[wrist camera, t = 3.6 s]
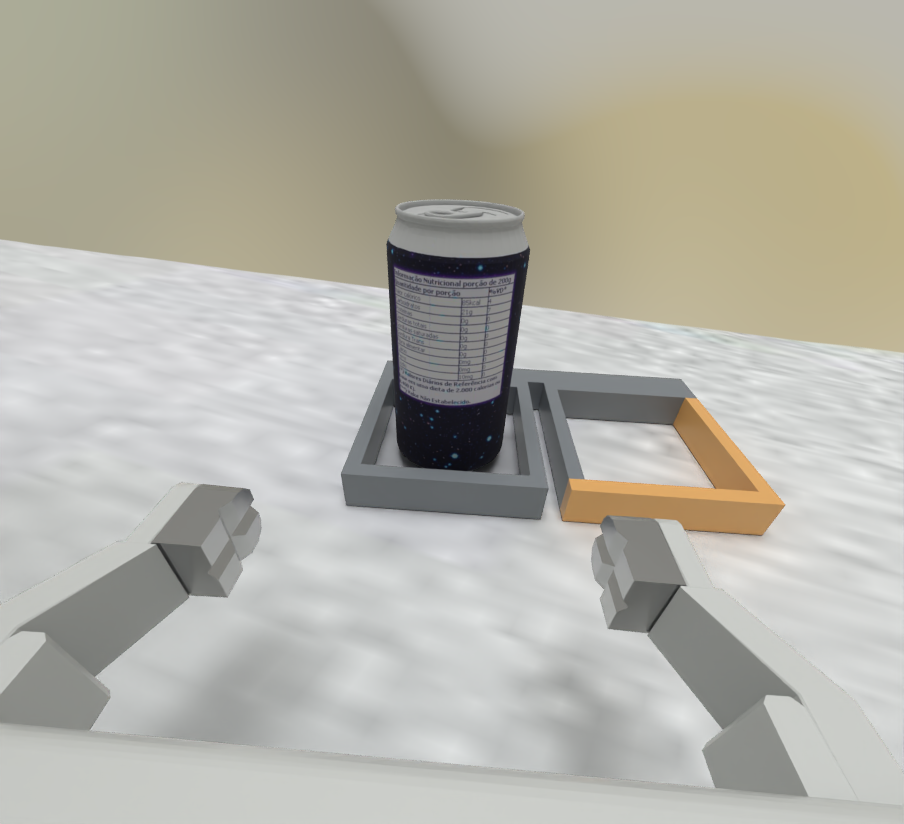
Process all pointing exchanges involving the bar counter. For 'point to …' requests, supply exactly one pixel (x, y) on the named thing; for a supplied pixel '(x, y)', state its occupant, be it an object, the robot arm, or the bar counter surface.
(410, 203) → the beverage can
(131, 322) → the bar counter surface
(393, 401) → the divided rectangular frame
